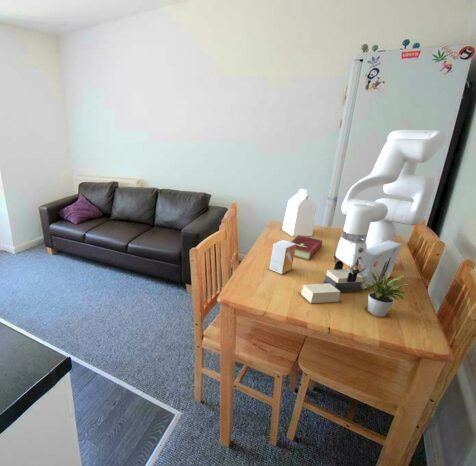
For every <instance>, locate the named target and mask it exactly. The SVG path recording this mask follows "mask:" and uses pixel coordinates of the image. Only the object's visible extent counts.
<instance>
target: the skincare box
mask: <svg viewBox="0 0 476 466" xmlns="http://www.w3.org/2000/svg"><path fill="white" fill-rule="evenodd" d="M402 246H403V244H402V243H399V242H397V241H390V240H388V241H385V242H383V243H380V244H378V245H375V246H372V247H370V248H367V250H366V257H365V262H364V266H365V270H364V272H360V273H359V275H361V276H363V281H362V283H361V290H366V289H368V288H367V287H364V285H363V284H369V285H370V286H372V287H373V286H374V284H373V283H372V282H373V281H374V283H375V284H376V282H375V280H374V278H373V276H372V274H371V273H372V272H373V273H374V275H375V276H376V278H377V280H379V278H380V281H381V282H383V281H384V275H385V272H386V274H387V275H388V273H390V272H391V273H390V274H389V276H388V278H390V277H391V275H392V272H393V270H394V267H395V264H396V262H397V261H396V259H397V260H398V256H399V254H400V251H401V247H402ZM371 271H372V272H371ZM374 271H375V272H374ZM365 272H366V273H365ZM370 272H371V273H370ZM368 274H369V275H370V276H369V275H368ZM377 274H378V275H379V278H378V275H377ZM370 281H371V282H370Z"/></svg>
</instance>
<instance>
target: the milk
mask: <svg viewBox="0 0 476 466" xmlns="http://www.w3.org/2000/svg"><path fill="white" fill-rule="evenodd" d="M309 192H310V191H309V190H308V189H305V188H300V189H299V190H298V192H297V193H296V194H294V195H293V196H292V197H291V198H289V200H288V201H287V204H286V210H285V214H284V219H283V222H282V228H281V230H282V231H283V232H285V233H287V234H288V235H290V236H291V237H297V236H298V235H301V236H306V237H310V236H313V232H314V224H315V217H316V209H317V204H316V202H315V201H314V200H313V199H312V198H311V196H310V193H309Z"/></svg>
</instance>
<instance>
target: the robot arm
mask: <svg viewBox="0 0 476 466" xmlns="http://www.w3.org/2000/svg"><path fill="white" fill-rule="evenodd" d="M446 136H447V135H446V133H445V132H444V131H442V130H439V129H396V130H392V131H391V132H389V134H388V136H387V139H386V142H385V144H384V146H383V147H382V149H381V150H380V151H381V152H380V153H379V155H378V158H377V160H376V162H375V164H374V167H373V169H372V171H370V172H371V173H370V174H369V175H366V176H365V177H363V178H361V179H359V180H358V181H356V183H354V184H353V185H352V186H351V187H350V188H349V189H348V191H347V193H346V195H345V198H344V199H343V201H342V204H341V207H340V209H341V210H340V211H341V214H342V215H344V216H346V218H345V222H344V226H343V231H342V234H341V237H340V239H339V241H338V244H337V247H336V249H334V250H333V251H332V252H333V258H334V267H333V270H339V269H344V264H345V265H346V266H348V267H349V269H350V273H349V274H348V278H347V282H355V281H356V278H357V274H359V273H360V272H362V271H364V270H365V266H364V262H365V257H366V250H367V248H370V247H372V246H375V245H378V244H380V243H383V242H385V241H388V240H390V241H393V242H395V241H394V240H395V238H396V234H397V228H396V226H395V224H394V223H397V224H402V225H408V226H419V225H420V224H421V223H422V222H423V220H424V218H425V216H426V213H427V210H428V209H429V204H430V202H431V200H432V197H433V195H434V191H435V187H436V181H435V179H434V178H433V177H431V176H428V175H418V174H415V173H416V169H417V167H418V164H425V163H427V162H429V161H430V160H431V159H432V158H433V157H434V156H435V155H436V154H437V153H438V152H439V151H441V149H442V148H443V146H444V145H445V143H446V139H447V138H446ZM379 186H383V187H382V189H383V193H384V194H386V195H389V196H393V197H400V198H405V199H406V198H407V199H412V200H413V201H408V200H402V199H396V198H391V197H382V198H381V197H380V198H378V199H376V200H375V201H374V200H368V199H362V198H357V197H358V196H359V195H360V194H361V193H362V192H364V191H366V190H368V189H371V188H374V187H379ZM397 261H398V258H397V259H396V262H397ZM354 268H355V269H354ZM359 270H360V271H359Z"/></svg>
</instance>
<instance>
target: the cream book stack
mask: <svg viewBox="0 0 476 466" xmlns="http://www.w3.org/2000/svg"><path fill="white" fill-rule="evenodd" d="M300 295H301V296H302V297H303V298H304V299H306V300H307V302H309V303H310V304H319V303H337V302H340V298H341V296H340V295H341V292H340V291H339V290H338V289H336V288H335V287H334V286H333V285H331V284H330V283H326V284H323V283H311V284H310V283H309V284H303V286H302V289H301V292H300Z"/></svg>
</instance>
